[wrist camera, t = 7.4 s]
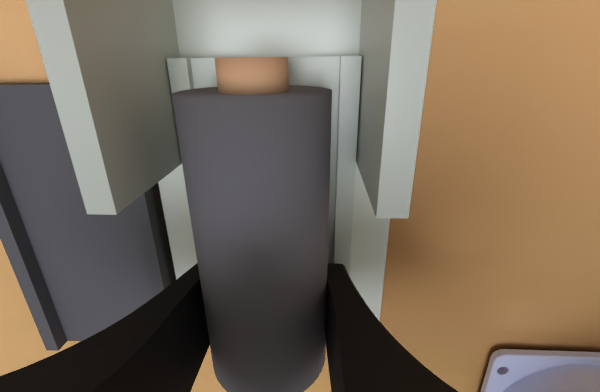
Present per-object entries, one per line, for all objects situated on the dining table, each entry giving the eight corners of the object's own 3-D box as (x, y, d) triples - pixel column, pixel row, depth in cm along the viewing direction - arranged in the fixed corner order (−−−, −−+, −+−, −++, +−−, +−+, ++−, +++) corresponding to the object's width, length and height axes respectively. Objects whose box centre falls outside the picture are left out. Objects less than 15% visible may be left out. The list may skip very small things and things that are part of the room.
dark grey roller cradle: (186, 335, 17) (177, 354, 16) (64, 330, 17) (46, 350, 16) (139, 82, 12) (121, 85, 11) (-29, 83, 12) (-63, 86, 11)
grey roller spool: (324, 327, 14) (325, 424, 10) (230, 324, 14) (200, 418, 11) (330, 56, 10) (337, 56, 6) (199, 57, 10) (131, 58, 6)
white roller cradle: (376, 316, 16) (406, 448, 10) (188, 311, 16) (125, 435, 11) (412, -41, 10) (513, -144, 5) (127, -33, 11) (-60, -120, 5)
